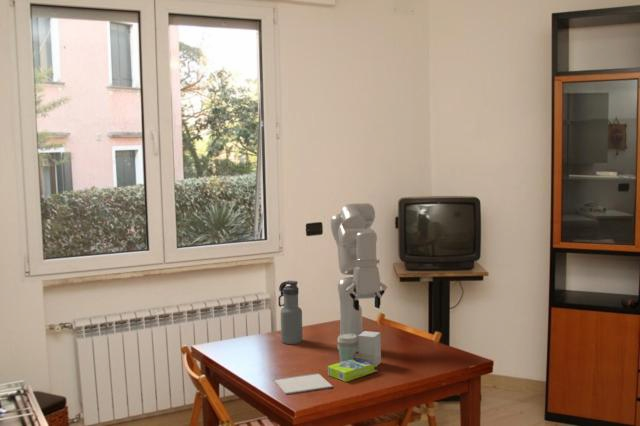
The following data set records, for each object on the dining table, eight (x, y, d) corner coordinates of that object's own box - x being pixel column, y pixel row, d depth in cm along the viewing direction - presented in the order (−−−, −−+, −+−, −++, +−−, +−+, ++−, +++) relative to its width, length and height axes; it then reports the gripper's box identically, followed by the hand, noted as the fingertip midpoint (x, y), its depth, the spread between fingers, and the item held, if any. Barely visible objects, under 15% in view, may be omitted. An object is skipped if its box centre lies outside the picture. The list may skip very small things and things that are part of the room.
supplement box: (381, 362, 267) (381, 332, 266) (375, 367, 261) (374, 336, 260) (364, 360, 271) (364, 330, 270) (358, 365, 264) (357, 335, 263)
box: (327, 365, 252) (360, 355, 263) (327, 375, 253) (360, 365, 264) (345, 372, 244) (378, 361, 255) (345, 383, 245) (378, 372, 256)
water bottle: (276, 342, 298) (274, 282, 296) (288, 337, 306) (287, 278, 304) (294, 345, 293) (293, 284, 290) (306, 340, 301) (305, 280, 299)
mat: (318, 374, 254) (318, 373, 254) (333, 387, 239) (333, 386, 239) (273, 380, 248) (273, 379, 248) (286, 394, 233) (286, 393, 233)
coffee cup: (352, 369, 259) (351, 340, 258) (333, 366, 264) (333, 337, 263) (362, 363, 266) (361, 334, 265) (344, 360, 271) (343, 332, 270)
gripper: (382, 260, 255) (383, 304, 257) (341, 263, 250) (342, 308, 251) (391, 263, 248) (391, 308, 250) (349, 266, 242) (349, 313, 244)
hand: (366, 308), depth 250 cm, fingers open, 8 cm apart
